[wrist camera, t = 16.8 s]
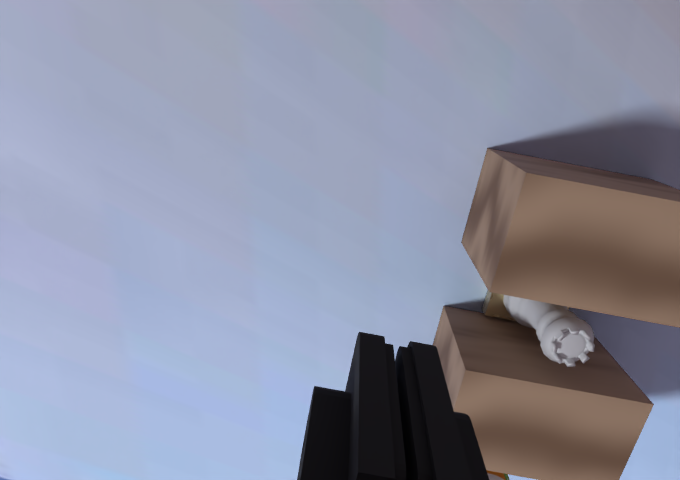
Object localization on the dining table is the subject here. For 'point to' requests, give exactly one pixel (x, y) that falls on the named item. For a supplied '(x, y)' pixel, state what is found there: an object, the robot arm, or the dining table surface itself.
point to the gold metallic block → (496, 306)
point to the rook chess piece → (554, 329)
